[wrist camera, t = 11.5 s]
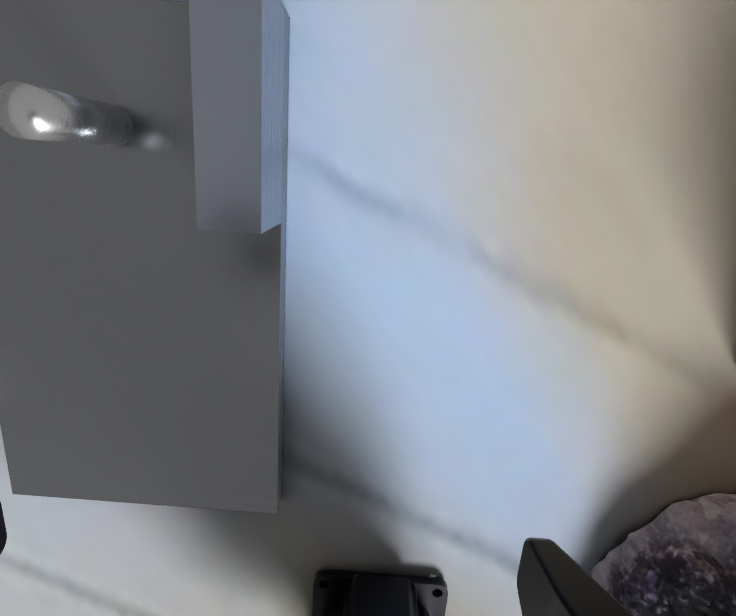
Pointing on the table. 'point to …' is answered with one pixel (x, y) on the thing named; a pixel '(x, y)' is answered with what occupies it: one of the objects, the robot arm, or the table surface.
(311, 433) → the table surface
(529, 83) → the table surface
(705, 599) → the crystal cluster
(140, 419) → the plate
